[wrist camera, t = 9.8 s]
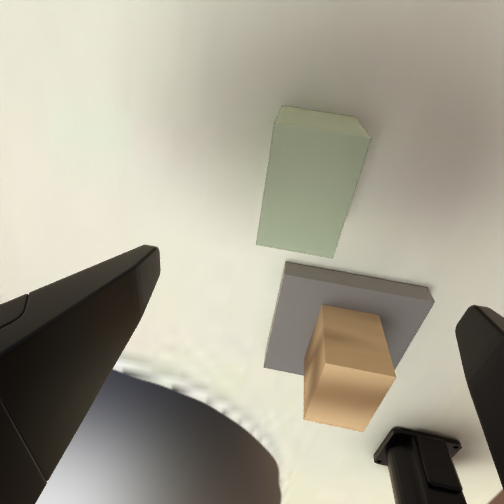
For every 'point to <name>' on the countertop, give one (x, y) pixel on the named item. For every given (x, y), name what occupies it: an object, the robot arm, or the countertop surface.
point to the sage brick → (310, 180)
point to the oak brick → (346, 368)
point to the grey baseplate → (342, 296)
